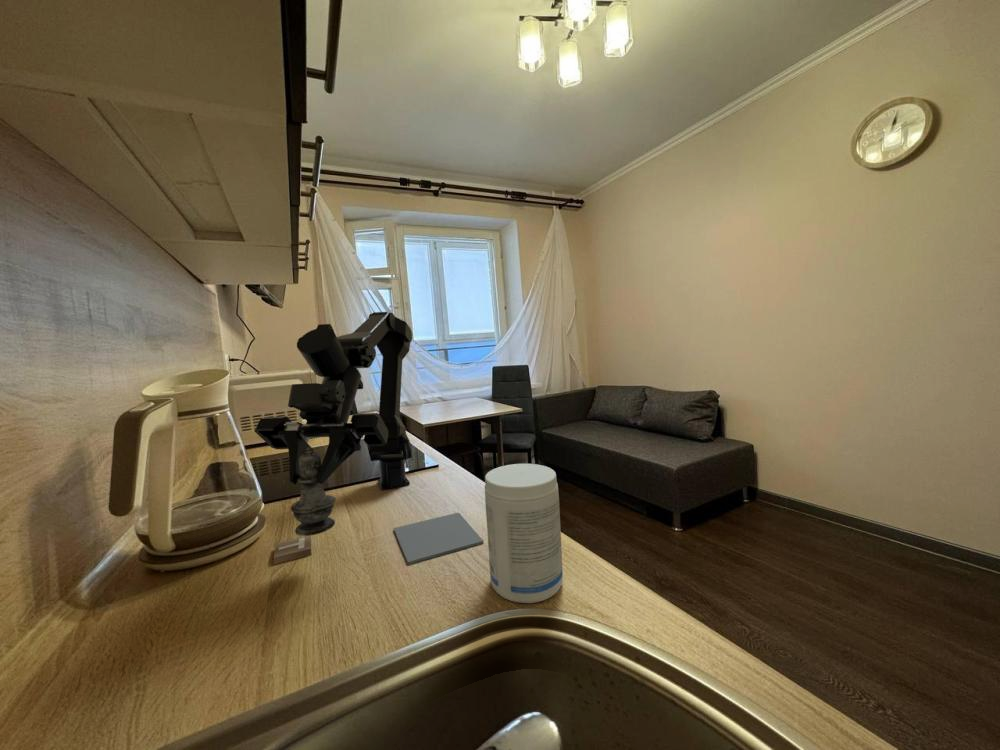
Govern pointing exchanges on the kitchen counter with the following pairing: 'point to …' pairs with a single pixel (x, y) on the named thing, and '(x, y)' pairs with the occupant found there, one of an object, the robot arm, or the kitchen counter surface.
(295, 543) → the letter tile
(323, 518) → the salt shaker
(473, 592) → the kitchen counter surface
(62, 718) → the kitchen counter surface
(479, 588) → the kitchen counter surface
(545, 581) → the supplement tub
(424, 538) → the slate mat
